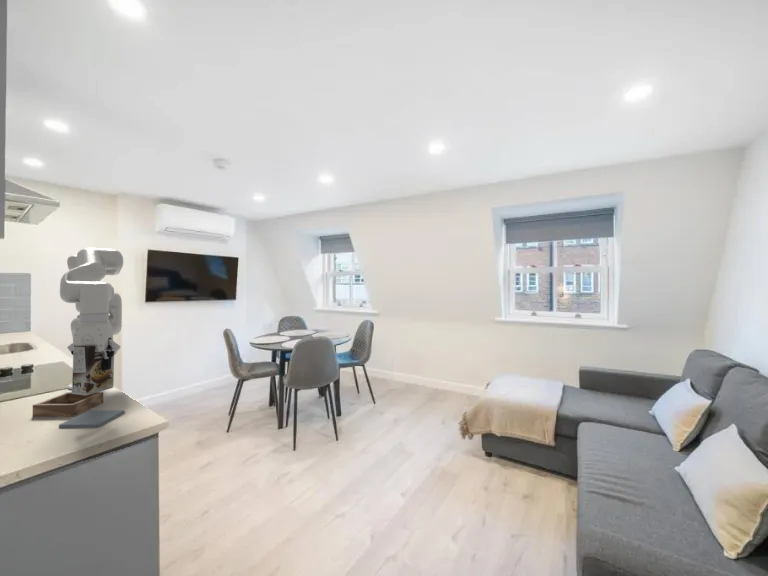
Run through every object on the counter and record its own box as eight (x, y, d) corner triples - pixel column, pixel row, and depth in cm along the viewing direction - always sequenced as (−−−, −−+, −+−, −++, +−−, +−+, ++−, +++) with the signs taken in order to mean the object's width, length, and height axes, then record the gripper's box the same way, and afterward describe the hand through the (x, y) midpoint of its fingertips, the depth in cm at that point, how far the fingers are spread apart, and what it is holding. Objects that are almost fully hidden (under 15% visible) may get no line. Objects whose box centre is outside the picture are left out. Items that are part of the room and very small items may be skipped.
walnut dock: (67, 402, 127) (67, 392, 127) (103, 402, 128) (103, 392, 128) (32, 416, 114) (32, 405, 114) (73, 416, 115) (73, 405, 115)
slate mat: (89, 413, 118) (89, 410, 118) (124, 412, 119) (124, 410, 119) (58, 427, 106) (58, 424, 106) (98, 427, 107) (98, 424, 107)
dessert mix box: (86, 396, 107) (87, 347, 107) (71, 394, 108) (71, 345, 108) (114, 387, 116) (115, 342, 116) (99, 386, 117) (100, 341, 117)
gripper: (57, 319, 107) (56, 372, 108) (113, 320, 109) (112, 372, 109) (77, 317, 115) (76, 367, 115) (128, 317, 116) (128, 367, 116)
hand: (94, 369), depth 112 cm, fingers closed on dessert mix box, 7 cm apart
